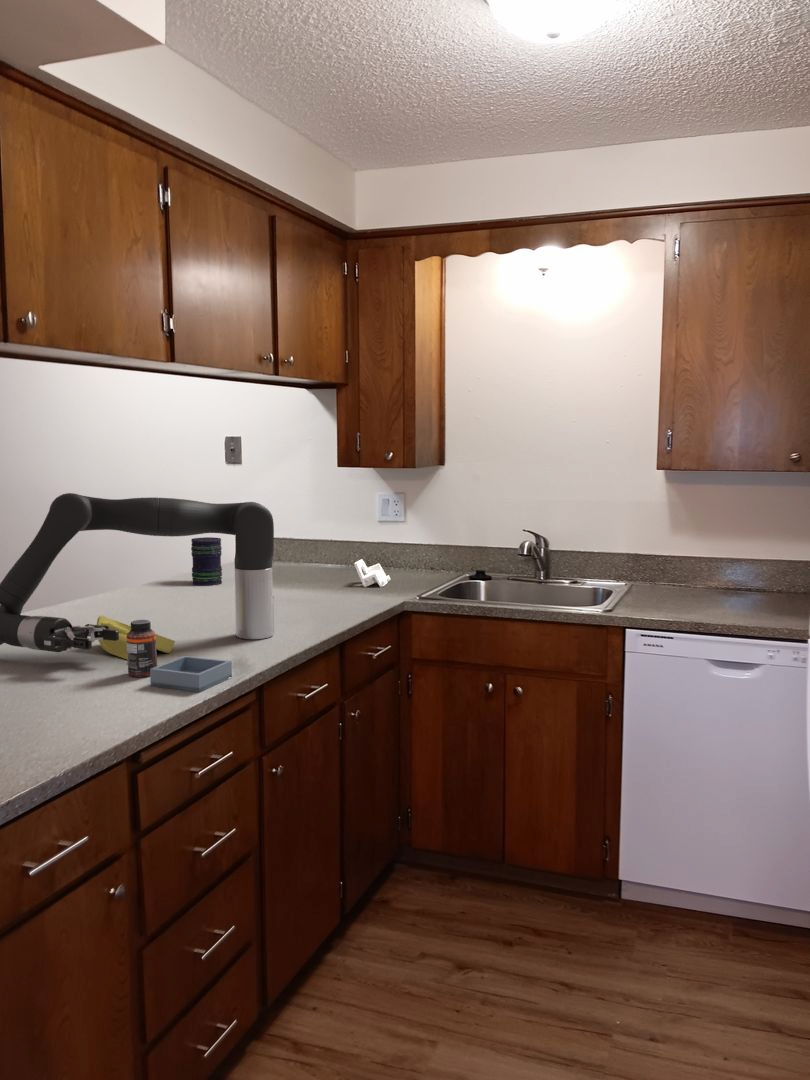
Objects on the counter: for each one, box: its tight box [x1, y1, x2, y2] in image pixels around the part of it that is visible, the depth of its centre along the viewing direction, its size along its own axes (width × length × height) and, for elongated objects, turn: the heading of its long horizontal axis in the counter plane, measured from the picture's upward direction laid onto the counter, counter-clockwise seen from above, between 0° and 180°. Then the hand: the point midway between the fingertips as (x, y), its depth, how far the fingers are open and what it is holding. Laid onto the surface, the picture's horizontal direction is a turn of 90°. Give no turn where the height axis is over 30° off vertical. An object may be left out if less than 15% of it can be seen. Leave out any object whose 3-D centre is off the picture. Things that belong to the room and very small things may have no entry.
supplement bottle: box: [126, 619, 158, 678], centre depth 191 cm, size 6×6×11 cm
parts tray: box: [149, 655, 233, 693], centre depth 186 cm, size 12×12×4 cm
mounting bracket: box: [353, 558, 391, 588], centre depth 303 cm, size 12×6×11 cm, turn 169°
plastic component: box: [96, 615, 176, 661], centre depth 212 cm, size 20×7×10 cm
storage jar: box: [191, 536, 223, 587], centre depth 303 cm, size 10×10×15 cm
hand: (104, 639), depth 194 cm, fingers open, 8 cm apart
